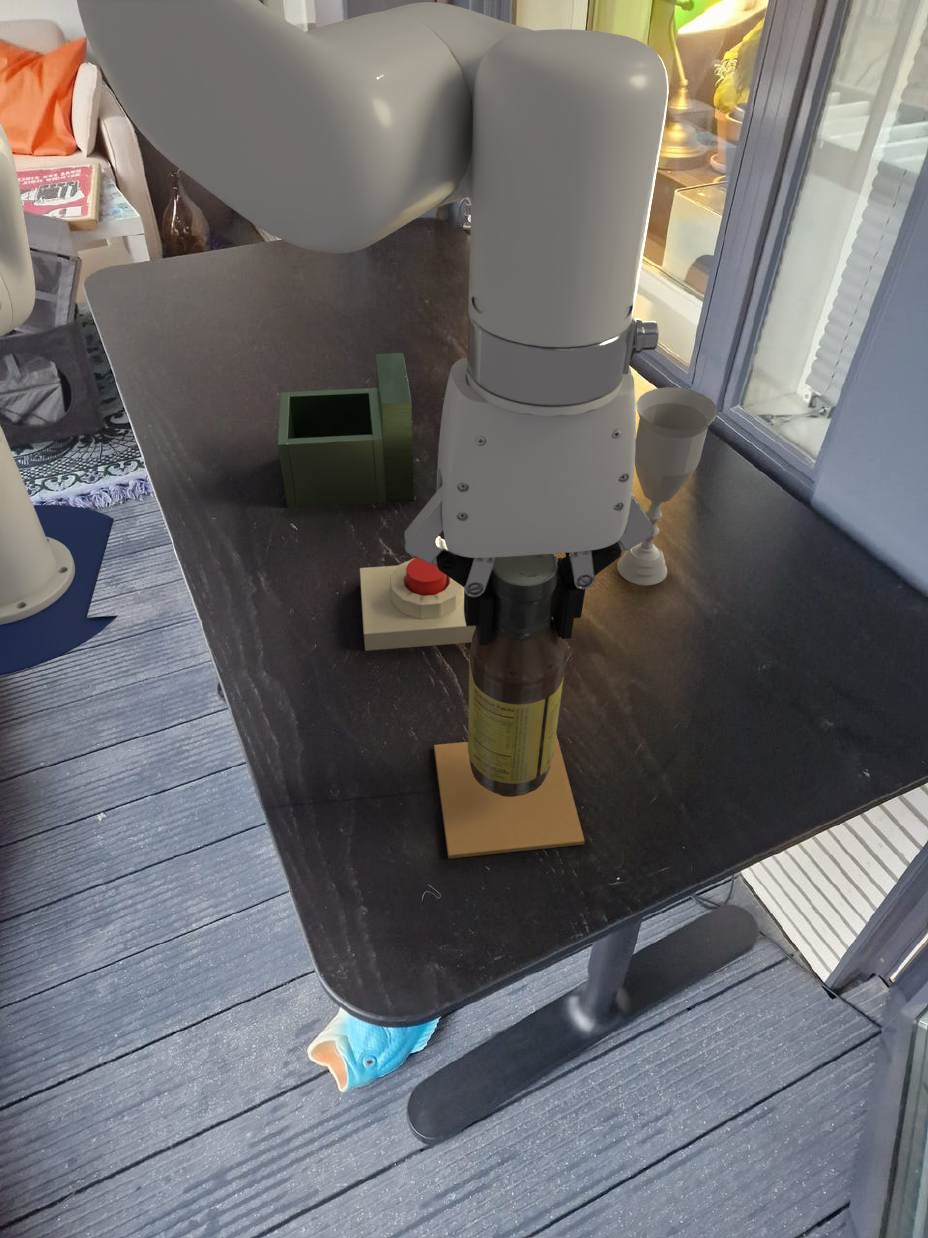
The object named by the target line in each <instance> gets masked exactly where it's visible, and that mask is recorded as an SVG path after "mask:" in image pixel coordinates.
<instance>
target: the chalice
mask: <svg viewBox="0 0 928 1238" xmlns="http://www.w3.org/2000/svg"><path fill="white" fill-rule="evenodd" d="M636 412H637V414H638V417H639V419H638V424H637V429H636V443H635V466H634V469H635V472H636V477H637V480H638V482H639V485H640V488H641V490H642V494H643V495H644V497H645V498H646V499H647V500H649V501H651V504H650V506H649V508H648V509H647V510H646V511H645V513H646V515H647V516H648V518H649V520H650V523H651V525H652V527H653V529H654V533H653V535H652V536H651V537H650V538H648V539H647V540H645V541H643V542H641V543H640V544H638V545H636V546H634V547H633V548H631V549H629V550H627V551H626V550H625V552H624V553H623V554H622V556H620V557H619V558H618V561H617V563H616V569H617V571H618V573H619V575H620V576H621V577H622V578H623V579H624V580H626V581H627V582H629V583H631V584H635V585H638V586H653V585H657V584H659V583H662V582H663V581H664V580H665V579H666V578H667V575H668V567H667V565H666V560H665V557H664V553H663V551H662V550H661V549H660V548H659V547H658V545H656V544H654V539H655V536H658V535H659V533H660V529H659V527H658V522H659V520H660V519H661V518H663V513H662V511H661V506H662V503H666V502H669V501H670V500H672V499H673V498H674V497H675V496H676V494H678V492H679V491H681V489H682V488H683V487H684V486H685V485H686V483H688V481H689V479H691V477H692V475H693V473H694V472H695V471H696V469H697V467H698V465H699V463H700V461H701V457H702V453H703V449H704V445H705V440H706V436H707V433H708V429H709V427H710V426H711V425H712V424H713V422H714V421H715V420H716V418H717V415H718V408H717V405H716V404H715V403H714V402H713V400H712V399H710V398H709V397H708V396H706V395H705V394H703V393H700V392H698V391H695V390H692V389H688V388H683V387H672V386H665V387H660V388H654V389H651V390H648V391H645V393H643V394H642V395H640V396H639V398H638V400H636Z"/></svg>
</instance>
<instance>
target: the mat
mask: <svg viewBox="0 0 928 1238" xmlns="http://www.w3.org/2000/svg"><path fill="white" fill-rule="evenodd" d="M560 746H561V745H560V743H559V739H558V734H556V739H555V746H554V754H553V759H552V762H551V765H550V769H549V772H548V774H547V777H546V779H545V780H544V781H543V783H542V785H541V786H540V787H539V788H537V789H536V790H534V791H532V792H529V793H527V794H525V795H520V796H515V797H505V796H500V795H499V794H496V793H494V792H492V791H490V790H488V789H486V788H484V787H483V786H481V785H480V784H479V783H478V782H477V781H476V779H475V778H474V775H473V773H472V770H471V766H470V761H469V753H468V741H462V742H452V743H441V744H440V743H439V744H433V751H434V760H435V767H436V774H437V775H436V776H437V781H438V790H439V797H440V798H439V799H440V806H441V813H442V820H443V821H442V822H443V828H444V836H445V843H446V851H447V859H458V858H460V859H461V858H469V857H478V856H487V855H496V854H504V853H506V854H507V853H515V852H525V851H535V850H545V849H554V848H555V849H556V848H563V847H572V846H581V845H584V844H585V837H584V834H583V829H582V827H581V822H580V819H579V815H578V810H577V807H576V804H575V800H574V795H573V791H572V789H571V785H570V780H569V776H568V772H567V770H566V766H565V761H564V758H563V754H562V751H561V747H560Z"/></svg>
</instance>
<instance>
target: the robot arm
mask: <svg viewBox="0 0 928 1238" xmlns="http://www.w3.org/2000/svg"><path fill="white" fill-rule="evenodd" d="M76 3H77V9H78V13H79V16H80V19H81V23H82V27H83V30H84V33H85V35H86V38H87V41H88V43H89V46H90V48H91V50H92V52H93V54H94V56H95V59H96V61H97V63H98V65H99V67H100V68H101V70H102V73H103V75H104V77H105V79H106V80H107V83H108V84H109V86H110V88H111V90H112V91H113V93H114V95H115V97H116V98H117V100H118V102H119V104H120V106H121V107H122V108H123V110H124V111H125V113H126V115H127V116H128V117H129V118H130V120H131V121H132V123H133V124H134V125H135V127H136V128H137V129H138V131H139V132H140V133H141V134H142V135H143V136H144V137H145V139H146V140H147V141H148V142H149V143H150V145H152V146H153V147H154V148H155V150H157V151H158V152H160V154H161V155H162V156H163V157H164V158H165V159H167V160H168V161H169V162H170V163H172V164H173V165H174V166H175V167H176V168H177V169H179V170H180V171H181V172H183V173H184V174H186V175H187V176H188V177H189V178H191V179H192V180H194V181H195V182H196V183H198V185H200V186H201V187H203V188H204V189H206V190H207V191H208V192H209V193H211V194H212V195H213V196H215V197H216V198H217V199H219V200H220V201H221V202H223V203H224V204H225V205H227V206H228V207H229V208H230V209H232V210H233V211H234V212H237V213H238V214H239V215H240V216H242V217H243V218H244V219H246V220H247V221H249V222H250V223H252V224H253V225H255V226H256V227H258V228H259V229H261V230H262V231H264V232H266V233H267V234H269V235H271V236H274V237H275V238H277V239H279V240H281V241H284V242H285V243H288V244H290V245H292V246H294V247H297V248H298V249H299V248H300V249H302V250H306V251H311V252H315V253H319V254H328V255H333V254H334V255H335V254H336V255H338V254H339V255H340V254H349V253H353V252H356V251H360V250H364V249H366V248H368V247H370V246H372V245H374V244H376V243H378V242H379V241H381V240H383V239H385V238H386V237H388V236H389V235H391V234H393V233H394V232H396V231H398V230H399V229H401V228H403V227H404V226H407V224H409V223H411V222H413V221H414V220H416V219H417V218H419V217H420V216H422V215H424V214H425V213H427V212H429V211H430V210H434V209H437V208H440V207H443V206H446V205H449V204H452V203H455V202H458V201H460V200H463V199H466V198H469V199H470V226H469V227H470V228H469V262H468V263H469V264H468V265H469V267H468V268H469V269H468V307H467V308H468V309H467V310H468V311H467V347H466V348H467V350H466V351H467V352H466V357H462V358H459V359H458V360H457V361H454V363H453V364H452V366H451V368H450V371H449V374H448V379H447V383H446V387H445V393H444V399H443V404H442V411H441V417H440V418H441V419H440V428H439V437H438V438H439V439H438V449H437V450H438V451H437V454H438V455H437V466H436V467H437V470H436V491H435V492H434V494H433V495H432V496H431V498H430V499H429V500H428V502H427V503H425V505H424V506H423V508H422V509H421V510H420V512H418V514H417V515H416V516H415V518H414V519H412V521H411V522H410V524H409V525H408V526H407V528H406V529H405V530H404V532H403V535H402V536H403V544H404V550H405V552H406V554H408V555H410V556H412V557H414V558H418V559H421V560H423V561H425V562H427V563H429V564H431V563H432V564H434V565H436V566H437V567H438V569H439V570H440V571H441V572H443V573H444V574H446V575H447V576H448V577H450V578H451V579H453V580H454V581H456V582H457V583H458V584H460V585H461V586H463V587H464V617H465V622H466V626H476V631H477V636H478V641H479V645H488V643H490V642H491V638H492V622H493V606H494V598H493V593H492V588H491V585H490V582H489V577H490V575H491V572H492V569H493V566H494V563H495V560H496V557H510V556H526V555H541V554H554V555H555V554H564V557H558V558H557V563H558V579H557V585H556V587H555V589H554V591H553V597H552V614H553V615H552V619H553V620H554V624H555V627H556V630H557V634H558V637H561V638H562V639H564V640H567V639H572V634H573V628H574V621H575V619H581V618H582V615H583V614H582V613H583V608H584V602H585V594H586V590H587V589H589V588H591V587H592V586H593V585H595V582H596V577H595V576H597V575H598V574H599V573H601V572H602V571H603V570H605V569H606V568H607V567H609V566H610V565H611V564H612V563H614V562H615V561H617V560H619V559H620V558H621V555H622V552H624V551H625V552H626V551H627V550H629V549H631V548H633V547H634V546H636V545H638V544H640V543H641V542H643V541H645V540H647V539H648V538H650V537H651V536H652V535H653V533H654V529H653V527H652V525H651V523H650V520H649V518H648V516H647V515H646V511H645V510H644V508H643V507H642V505H641V503H640V502H639V501H638V500H637V498H636V496H635V495H634V494H633V489H634V487H633V486H634V478H635V477H634V476H635V443H636V435H637V402H636V389H635V388H636V387H635V378H634V376H633V373H632V370H631V367H630V365H631V364H630V362H631V361H632V359H633V357H634V355H638V354H640V353H641V352H642V351H654V350H656V349H657V346H658V342H659V335H660V334H659V326H658V323H657V322H656V321H655V320H650V321H648V320H647V321H643V320H642V319H641V318H635V316H634V310H635V305H636V298H637V293H638V286H639V281H640V276H641V275H640V274H641V269H642V262H643V257H644V251H645V245H646V239H647V233H648V227H649V220H650V214H651V207H652V202H653V197H654V196H653V195H654V190H655V183H656V178H657V177H656V176H657V171H658V165H659V159H660V154H661V146H662V141H663V136H664V135H663V134H664V127H665V123H666V117H667V109H668V100H669V99H668V98H669V79H668V78H669V77H668V73H667V69H666V66H665V64H664V61H663V59H662V57H661V56H660V55H659V54H658V52H657V51H656V50H655V49H654V48H653V47H651V46H650V45H648V44H646V43H644V42H643V41H640V40H638V39H636V38H634V37H629V36H626V35H622V34H617V33H611V32H605V31H597V30H588V29H569V28H568V29H567V28H563V29H562V28H559V29H558V28H557V29H555V28H553V29H537V30H534V29H531V28H527V27H524V26H520V25H517V24H513V23H510V22H506V21H503V20H500V19H498V18H495V17H493V16H492V17H491V16H489V15H486V14H483V13H480V12H477V11H474V10H472V9H468V8H465V7H462V6H457V5H453V4H448V3H442V2H436V1H434V2H433V1H422V2H412V3H407V4H403V5H400V6H395V7H393V8H389V9H385V10H381V11H376V12H372V13H365V14H362V15H358V16H355V17H350V18H347V19H343V20H340V21H336V22H333V23H329V24H325V25H322V26H318V27H315V28H312V29H308V30H306V31H304V30H302V29H301V28H299V27H298V26H296V25H294V24H293V23H291V22H289V21H288V20H286V19H285V18H284V17H282V16H281V15H279V14H278V13H276V12H275V11H273V10H272V9H271V8H269V7H268V6H267V5H265V4H264V3H262V2H261V1H260V0H76ZM15 162H16V161H15V158H14V154H13V150H12V147H11V144H10V141H9V139H8V136H7V134H6V132H5V129H4V127H3V124H2V123H1V122H0V337H3V336H4V335H6V334H8V333H10V332H12V331H14V330H15V329H17V328H19V327H20V326H22V325H23V324H24V323H25V322H26V321H27V320H28V319H29V318H30V316H31V314H32V312H33V310H34V306H35V302H36V282H35V281H36V280H35V273H34V267H33V260H32V255H31V248H30V243H29V237H28V231H27V225H26V217H25V213H24V212H25V211H24V207H23V201H22V195H21V188H20V182H19V177H18V176H19V175H18V172H17V166H16V163H15ZM25 484H26V483H25V482H24V479H23V477H22V474H21V472H20V469H19V466H18V465H17V462H16V459H15V457H14V454H13V452H12V449H11V447H10V445H9V442H8V439H7V438H6V435H5V433H4V430H3V428H2V426H1V425H0V625H2V624H8V623H12V622H15V621H18V620H22V619H25V618H27V617H29V616H32V615H34V614H36V613H38V612H40V611H42V610H43V609H45V608H47V607H48V606H50V605H51V604H52V603H54V602H55V601H56V600H58V599H59V598H60V597H61V596H62V595H63V594H64V593H65V592H66V590H67V589H68V587H69V586H70V584H71V583H72V580H73V578H74V575H75V564H74V560H73V558H72V555H71V553H70V551H69V550H68V549H67V548H66V546H65V545H63V544H62V543H60V542H59V541H57V540H55V539H52V538H50V537H46V536H45V533H44V531H43V529H42V526H41V524H40V521H39V519H38V516H37V514H36V511H35V509H34V506H33V505H34V504H33V501H32V499H31V497H30V496H31V495H30V494H29V492H28V489H27V487H26V485H25ZM442 533H443V536H444V538H441V534H442Z"/></svg>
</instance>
